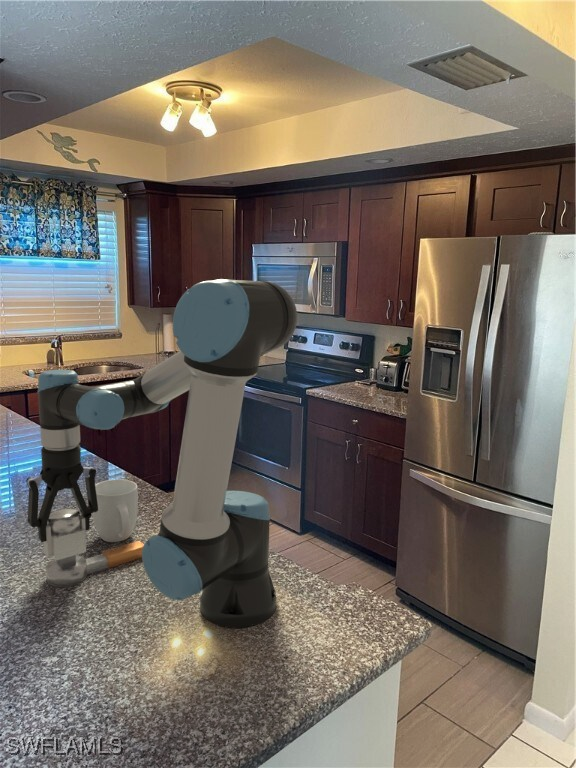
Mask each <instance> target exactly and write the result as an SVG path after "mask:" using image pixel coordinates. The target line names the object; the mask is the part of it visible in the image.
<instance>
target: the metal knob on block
mask: <svg viewBox="0 0 576 768" xmlns="http://www.w3.org/2000/svg"><path fill="white" fill-rule="evenodd" d="M80 514H81V512H80V510H77V509H74V508H73V509H72V508H64V509H58V510H54V511H51V513H50V516H49V519H48V523H47V524H48V525H49V526H50V527H51V546H52V556H51V557H50V558H52V560H55V561H56V560H60V559H63V558H67V557H70V556H74V555H76V556H78V555H80V554H83V553H86V552H87V537H86V538H85V529H84V528H83V527H82V526H81V524H80Z"/></svg>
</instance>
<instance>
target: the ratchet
mask: <svg viewBox="0 0 576 768" xmlns="http://www.w3.org/2000/svg"><path fill="white" fill-rule="evenodd" d="M144 544H145V543H143V542H142V541H140V540H136V541H134V542H130V543H127V544H123V545H120V546H116V547H113V548H110V549H107V550H104V551H102V553H100V554H98V555H94V556H91V557H87V558H85V557H83V556H80V555H74V556H70V557H67V558H63V559H60V560H56V561H55V560H54V559H52V560H50V561H49V562H48V563H47V565H46V567H45V569H46V582H47V584H48V585H49V586H51V587H55V588H68V587H73V586H77V585H78V584H80V583H83V581H84V580H86V578H87V576H88V575H90V574H93V573H96V572H100V571H102V570H105V569H112V568H114V567H117V566H120V565H119V564H121V565H123V563H124V564H127V563H129V561H130V562H132V560H133V561H136V560H139V559H142V550H143V546H144ZM135 559H136V560H135ZM126 562H127V563H126ZM116 565H117V566H116Z"/></svg>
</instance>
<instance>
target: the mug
mask: <svg viewBox="0 0 576 768" xmlns="http://www.w3.org/2000/svg"><path fill="white" fill-rule="evenodd" d="M95 487H96V495H97V503H98V511H97V512H93V513H92V514H91V516H92V520H93V524H94V527H95V530H96V532H97V534H98V536H99V537H100V538H101V539H102V540H103V541H104V542H107V543H119V542H122V541H125V540H127V539H128V538H129V537H131V535H132V533H133V531H134V529H135V527H136V522H137V520H138V512H139V511H138V510H139V495H138V494H139V493H138V485H137V483H136V482H134V481H132V480H128V479H120V478H119V479H108V480H104V481H100V482H98V483H95Z"/></svg>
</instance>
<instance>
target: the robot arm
mask: <svg viewBox="0 0 576 768" xmlns="http://www.w3.org/2000/svg"><path fill="white" fill-rule="evenodd" d="M297 324H298V311H297V306H296V304H295V301H294V299H293V298H292V296H291V294H289V292H288V291H287V290H286V289H284V288H283V286H280V285H278V284H276V283H275V282H272V281H266V280H240V279H237V280H236V279H224V278H219V279H214V280H205V281H201V282H197V283H196V284H194V285H193V286H190V288H189V289H187V290H186V291H185V292H184V293H183V294H182V295H181V296H180V298H179V300H178V302H177V303H176V307H175V308H174V311H173V317H172V333H173V336H174V338H176V340H177V341H176V342H175V343H176V345H177V346H176V347H178V349H179V350H178V351H177V352H176V353H174V354H173V355H171V356H170V357H168V358H167V359H164V360H163V361H161V362H160V363H158V364H157V365H156V366H155V365H154V367H152V368H150V369H148V370H147V371H145V373H143V374H141V375H140V376H138V377H136V378H134V379H131V380H125V381H119V382H113V383H107V384H100V385H96V386H88V385H82V384H79V383H80V381H79V376H78V373H77V372H76V371H74V370H70V369H49V370H45V371H42V372H41V373H40V374H38V376H37V377H38V378H37V380H38V382H37V383H38V384H37V386H38V387H37V399H38V400H37V401H38V411H39V412H38V413H39V414H38V415H39V424H40V425H39V427H40V429H39V431H40V445H41V447H42V448H41V449H40V453H41V455H40V456H41V471H40V472H39V475H37V476H34V477H30V476H29V477H28V478H26V480H25V481H26V485H27V487H28V502H27V503H28V504H27V505H28V506H27V523H28V524H29V525H30V527H31V528H37V531H38V533H37V537H38V540H39V541H40V543H43V553H44V554H45V555H46V557H48V558H52V557H51V556H52V546H51V527H50V526H49V525H48V519H49V516H50V513H52V509H53V506H54V502H55V499H56V497H57V495H58V493H59V491H63V490H64V489H66V490H67V489H68V490H69V489H70V492H71V494H72V496H73V498H74V501H75V502H76V505H77V507H78V509H79V510H78V511H79V512H80V524H81V526H82V527H83V528H84V529H85V538H86V539H87V535H86V534H87V533H86V532H87V531H89V530H90V528H91V527H90V526H91V525H90V523H91V522H90V518H91V517H92V513H93V512H97V511H98V503H97V495H96V487H95V484H96V475H97V469H95V468H94V467H93V466H91V465H88V466H83V464H82V456H81V455H82V450H81V449H82V448H81V445H80V443H81V427H80V426H84V427H87V428H89V429H93V430H103V431H105V430H107V431H109V430H111V429H113V428H114V427H116V426H117V425H118V424H119V423H120V422H121V421H122V420H125V419H126V420H127V419H129V418H133V417H137V416H142V415H147V414H153V413H156V412H160V410H164V409H165V408H167V407H168V406H169V404H170V402H171V401H172V400H173V399H175V398H177V397H179V396H180V395H183V394H185V393H186V392H188V396H187V397H188V398H187V403H186V404H187V405H186V410H185V415H184V416H185V419H184V424H183V431H182V438H181V444H180V451H179V459H178V464H177V474H176V479H175V484H174V493H173V500H172V503H171V504H169V505H168V506H167V507H165V508H164V509H163V511H162V513H161V518H160V519H161V520H160V526H159V532H158V533H157V535H152V536H151V537H149V538H148V540H146V541H145V543H143V544H144V546H143V550H142V558H141V560H142V566H143V568H144V572H145V573H146V576H147V577H148V578H149V581H150V583H151V584H152V585H153V586H154V587H155V589H157V591H158V592H159V593H161V594H162V595H163V596H165V597H166V598H168V599H171V600H173V601H174V600H175V601H184V600H187V599H189V598H191V597H193V596H194V595H197V594H199V593H200V596H199V610H200V613H201V615H202V616H203V617H204V618H205V619H206V620H207V621H209V622H210V623H213V624H215V625H217V626H220V627H224V628H225V627H226V628H233V629H234V628H236V629H237V628H238V629H239V628H240V629H241V628H248V627H252V626H257V625H259V624H262V623H264V622H265V621H267V620H268V619H269V618H271V617H272V616H273V614H274V613H275V612H276V609H277V592H276V589H275V586H274V583H273V580H272V577H271V574H270V570H269V558H270V557H269V555H270V554H269V553H270V551H269V550H270V549H269V548H270V521H271V516H270V504H269V502H268V500H267V499H266V498H265V497H263V496H261V495H260V494H257V493H254V492H250V491H249V492H248V491H243V490H228V487H229V481H230V480H229V478H230V474H231V469H232V463H233V462H232V461H233V457H234V451H235V446H236V439H237V434H238V430H239V429H238V428H239V422H240V417H241V412H242V407H243V400H244V395H245V390H246V389H245V388H246V384H247V382H248V381H249V380H251V379H252V378H254V377H255V376H256V375H257V374H258V370H259V365H260V360H261V357H263V356H264V355H267V354H268V353H270V352H272V351H275V350H277V349H279V348H281V347H283V346H284V345H285V344H287V343H288V342H289V340H290V339H291V338H292V337H293V335H294V334H295V333H294V332H295V331H296V327H297ZM81 475H83V476H84V482H85V489H86V490H85V491H86V498H87V503H88V504H87V503H86V501H85V498H84V496H83V493H82V491H81V487H80V485H79V483H78V481H79V479H80V478H81ZM42 481H43V482H44V483H45V484H46V487H45V493H44V497H43V500H42V504H41V507H40V510H39V496H40V495H39V494H40V492H39V488H40V487H41V483H42Z"/></svg>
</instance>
